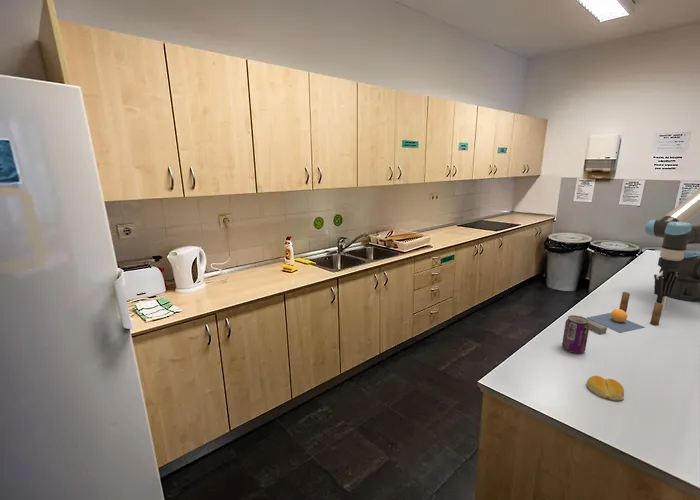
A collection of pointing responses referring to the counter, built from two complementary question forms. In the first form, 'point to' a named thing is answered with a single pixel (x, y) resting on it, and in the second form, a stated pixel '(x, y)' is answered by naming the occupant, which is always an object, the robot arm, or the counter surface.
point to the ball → (618, 315)
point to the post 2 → (656, 314)
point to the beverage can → (575, 334)
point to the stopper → (597, 327)
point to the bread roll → (606, 388)
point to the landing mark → (614, 323)
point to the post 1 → (624, 301)
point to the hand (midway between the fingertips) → (659, 309)
